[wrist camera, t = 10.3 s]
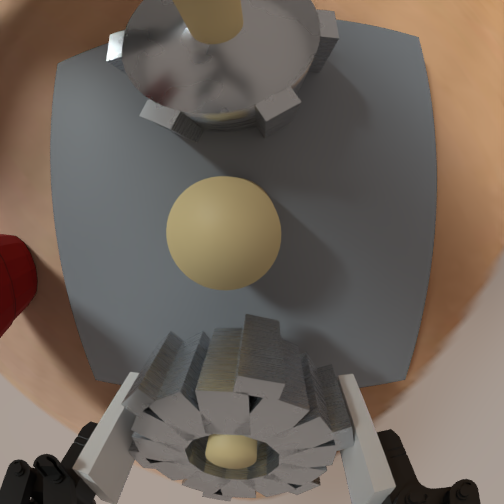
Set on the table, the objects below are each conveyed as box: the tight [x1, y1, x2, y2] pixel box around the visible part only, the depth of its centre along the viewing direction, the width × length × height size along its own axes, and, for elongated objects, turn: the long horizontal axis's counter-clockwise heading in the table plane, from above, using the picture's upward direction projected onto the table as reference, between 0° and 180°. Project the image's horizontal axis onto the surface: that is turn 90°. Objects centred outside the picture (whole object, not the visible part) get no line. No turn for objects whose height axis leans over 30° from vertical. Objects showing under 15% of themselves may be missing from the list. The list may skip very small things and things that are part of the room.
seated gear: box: [106, 0, 339, 143], centre depth 9 cm, size 9×8×4 cm
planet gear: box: [121, 314, 354, 501], centre depth 11 cm, size 9×9×4 cm
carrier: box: [50, 0, 437, 469], centre depth 11 cm, size 22×22×8 cm
